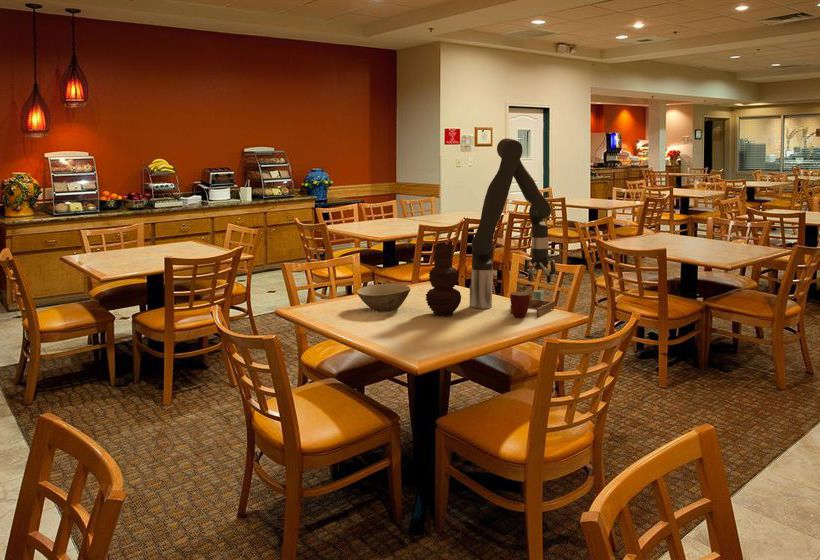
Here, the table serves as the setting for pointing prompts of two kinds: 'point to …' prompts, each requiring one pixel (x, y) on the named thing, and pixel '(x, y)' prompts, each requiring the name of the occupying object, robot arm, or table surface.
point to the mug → (519, 303)
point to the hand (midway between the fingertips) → (539, 282)
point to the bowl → (384, 296)
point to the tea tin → (538, 294)
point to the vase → (443, 282)
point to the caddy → (540, 306)
